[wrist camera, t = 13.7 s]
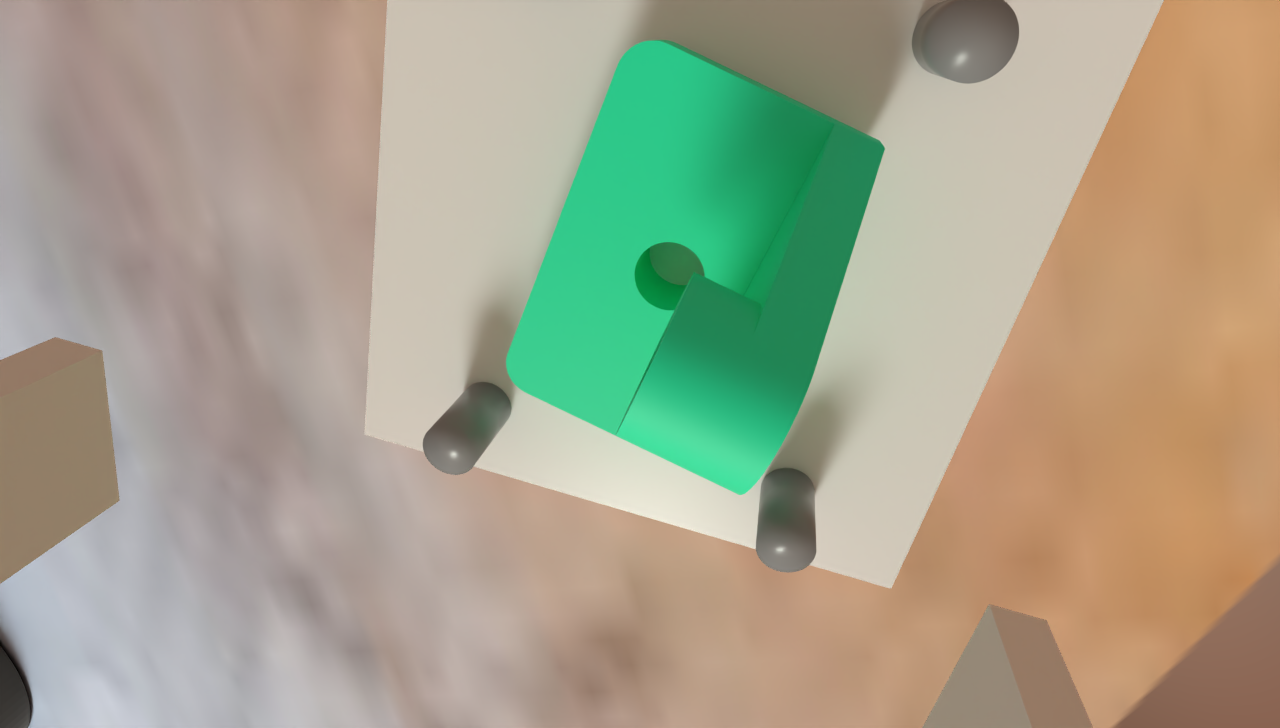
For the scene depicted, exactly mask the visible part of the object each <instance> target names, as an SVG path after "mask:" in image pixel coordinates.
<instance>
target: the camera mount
mask: <svg viewBox="0 0 1280 728" xmlns="http://www.w3.org/2000/svg"><path fill="white" fill-rule="evenodd" d="M884 150H885V147H884V146H883V144H882V143H881V141H880V140H878V139H876V138H873V137H871V136H869V135H867V134H865V133H863V132H861V131H859V130H857V129H855V128H853V127H851V126H848V125H846V124H844V123H842V122H840V121H838V120H836V119H834V118H832V117H830V116H828V115H826V114H823V113H821V112H819V111H817V110H815V109H813V108H811V107H809V106H807V105H805V104H803V103H801V102H798V101H796V100H794V99H792V98H790V97H788V96H786V95H784V94H782V93H780V92H778V91H776V90H773V89H771V88H769V87H767V86H765V85H763V84H761V83H759V82H757V81H755V80H753V79H751V78H748V77H746V76H744V75H742V74H740V73H738V72H736V71H734V70H732V69H730V68H728V67H726V66H723V65H721V64H719V63H717V62H715V61H713V60H711V59H709V58H707V57H705V56H703V55H701V54H698V53H696V52H694V51H692V50H690V49H688V48H686V47H684V46H682V45H680V44H678V43H675V42H673V41H669V40H650V41H644V42H641V43H638V44H636V45H634V46H633V47H631V48H630V49H629V50H628V51H626V53H625V54H624V55H623V56H622V58H621V59H620V61H619V63H618V65H617V68H616V70H615V73H614V76H613V78H612V81H611V83H610V86H609V89H608V91H607V94H606V97H605V99H604V102H603V104H602V107H601V110H600V112H599V115H598V117H597V120H596V123H595V125H594V128H593V131H592V133H591V136H590V138H589V141H588V144H587V146H586V149H585V152H584V154H583V157H582V159H581V162H580V165H579V167H578V170H577V173H576V175H575V178H574V180H573V183H572V186H571V188H570V191H569V194H568V196H567V199H566V201H565V204H564V207H563V209H562V212H561V215H560V217H559V220H558V222H557V225H556V228H555V230H554V233H553V236H552V238H551V241H550V243H549V246H548V249H547V251H546V254H545V257H544V259H543V262H542V264H541V267H540V270H539V272H538V275H537V278H536V280H535V283H534V285H533V288H532V291H531V293H530V296H529V299H528V301H527V304H526V306H525V309H524V312H523V314H522V317H521V320H520V322H519V325H518V327H517V330H516V333H515V335H514V338H513V341H512V343H511V346H510V348H509V351H508V354H507V357H506V368H507V372H508V375H509V377H510V379H511V380H512V382H513V383H514V384H515V385H516V386H517V387H518V388H519V389H520V390H522V391H523V392H525V393H527V394H529V395H531V396H534V397H536V398H538V399H540V400H542V401H544V402H546V403H548V404H550V405H552V406H554V407H557V408H559V409H561V410H563V411H565V412H567V413H569V414H571V415H573V416H575V417H577V418H579V419H582V420H584V421H586V422H588V423H590V424H592V425H594V426H596V427H598V428H600V429H602V430H605V431H607V432H609V433H611V434H613V435H615V436H617V437H619V438H621V439H623V440H625V441H628V442H630V443H632V444H634V445H636V446H638V447H640V448H642V449H644V450H646V451H648V452H650V453H653V454H655V455H657V456H659V457H661V458H663V459H665V460H667V461H669V462H671V463H673V464H676V465H678V466H680V467H682V468H684V469H686V470H688V471H690V472H692V473H694V474H696V475H699V476H701V477H703V478H705V479H707V480H709V481H711V482H713V483H715V484H717V485H719V486H722V487H724V488H726V489H728V490H730V491H732V492H734V493H736V494H738V495H743V494H745V493H746V492H748V491H749V490H750V489H751V488H752V487H753V486H754V485H755V484H756V483H757V481H758V480H759V479H760V478H761V476H762V475H763V474H764V472H765V471H766V469H767V468H768V467H769V465H770V463H771V462H772V460H773V459H774V457H775V455H776V454H777V452H778V450H779V449H780V447H781V445H782V443H783V442H784V440H785V438H786V436H787V434H788V432H789V430H790V428H791V426H792V424H793V422H794V420H795V418H796V416H797V414H798V412H799V410H800V407H801V405H802V403H803V400H804V398H805V396H806V393H807V391H808V388H809V385H810V383H811V380H812V377H813V374H814V371H815V368H816V365H817V362H818V359H819V355H820V352H821V349H822V346H823V343H824V340H825V337H826V333H827V330H828V327H829V324H830V321H831V318H832V314H833V311H834V308H835V305H836V302H837V299H838V296H839V292H840V289H841V286H842V283H843V280H844V277H845V273H846V270H847V267H848V264H849V261H850V258H851V254H852V251H853V248H854V245H855V242H856V239H857V236H858V232H859V229H860V226H861V223H862V220H863V217H864V213H865V210H866V207H867V204H868V201H869V198H870V195H871V191H872V188H873V185H874V182H875V179H876V176H877V172H878V169H879V166H880V163H881V160H882V157H883V154H884ZM663 242H673V243H678V244H681V245H683V246H685V247H687V248H689V249H690V250H691V251H693V252H694V253H695V254H696V256H697V257H698V258H699V260H700V261H701V264H702V266H703V269H704V275H705V276H704V277H703V276H701V275H699V274H697V273H695V272H694V273H693V274H692V276H691V278H690V280H689V282H688V284H687V285H677V284H673V283H670V282H668V281H666V280H664V279H663V278H662V277H660V276H659V275H658V274H657V272H656V271H655V270H654V268H653V266H652V263H651V260H650V247H651V246H653V245H656V244H658V243H663Z"/></svg>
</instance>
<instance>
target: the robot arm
mask: <svg viewBox="0 0 1280 728" xmlns="http://www.w3.org/2000/svg"><path fill="white" fill-rule="evenodd" d="M118 501H119V492H118V483H117V475H116V466H115V457H114V449H113V440H112V431H111V423H110V414H109V405H108V397H107V388H106V379H105V371H104V362H103V353H102V350H98V349H95V348H91V347H88V346H84V345H81V344H77V343H74V342H70V341H67V340H63V339H60V338H56V337H55V338H52V339H50V340H48V341H45V342H43V343H40V344H38V345H36V346H33V347H31V348H28V349H26V350H24V351H21V352H19V353H16V354H14V355H12V356H9V357H7V358H4V359H2V360H0V583H2V582H3V581H5V580H6V579H8V578H9V577H11V576H12V575H13V574H15V573H16V572H18V571H19V570H21V569H22V568H23V567H25V566H26V565H28V564H29V563H31V562H32V561H33V560H35V559H36V558H38V557H39V556H41V555H42V554H43V553H45V552H46V551H48V550H49V549H51V548H52V547H53V546H55V545H56V544H58V543H59V542H61V541H62V540H63V539H65V538H66V537H68V536H69V535H71V534H72V533H74V532H75V531H76V530H78V529H79V528H81V527H82V526H84V525H85V524H86V523H88V522H89V521H91V520H92V519H94V518H95V517H96V516H98V515H99V514H101V513H102V512H104V511H105V510H106V509H108V508H109V507H111V506H112V505H114V504H115V503H116V502H118ZM29 721H30V705H29V699H28V695H27V692H26V689H25V686H24V684H23V682H22V679H21V677H20V675H19V673H18V672H17V670H16V668H15V666H14V665H13V663H12V662H11V660H10V659H9V657H8V656H7V654H6V653H5V652H4V650H3V649H2V648H1V647H0V728H28V725H29ZM922 728H1093V726H1092V724H1091V722H1090V719H1089V717H1088V715H1087V713H1086V710H1085V708H1084V706H1083V703H1082V701H1081V699H1080V696H1079V694H1078V692H1077V689H1076V687H1075V685H1074V683H1073V680H1072V678H1071V676H1070V673H1069V671H1068V669H1067V666H1066V664H1065V662H1064V660H1063V657H1062V655H1061V653H1060V650H1059V648H1058V646H1057V643H1056V641H1055V639H1054V636H1053V634H1052V632H1051V630H1050V627H1049V625H1048V623H1047V620H1043V619H1040V618H1036V617H1033V616H1029V615H1026V614H1022V613H1019V612H1015V611H1012V610H1008V609H1005V608H1001V607H998V606H994V605H991V604H989V605H988V607H987V609H986V611H985V613H984V615H983V616H982V618H981V620H980V622H979V624H978V626H977V628H976V629H975V631H974V633H973V635H972V637H971V639H970V641H969V642H968V644H967V646H966V648H965V650H964V652H963V653H962V655H961V657H960V659H959V661H958V663H957V665H956V666H955V668H954V670H953V672H952V674H951V676H950V677H949V679H948V681H947V683H946V685H945V687H944V689H943V690H942V692H941V694H940V696H939V698H938V700H937V702H936V703H935V705H934V707H933V709H932V711H931V713H930V714H929V716H928V718H927V720H926V722H925V724H924V726H923V727H922Z"/></svg>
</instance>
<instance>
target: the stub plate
mask: <svg viewBox="0 0 1280 728" xmlns="http://www.w3.org/2000/svg"><path fill="white" fill-rule="evenodd" d="M1163 1H1164V0H387V18H386V37H385V56H384V75H383V94H382V113H381V132H380V151H379V170H378V189H377V208H376V227H375V246H374V265H373V284H372V303H371V322H370V341H369V360H368V379H367V398H366V417H365V435H368V436H371V437H375V438H378V439H381V440H385V441H388V442H392V443H395V444H398V445H402V446H405V447H409V448H412V449H416V450H419V451H422V452H424V453H425V456H426V457H427V459H428V460H429V462H430V463H431V464H432V465H433V466H434V467H435V468H437V469H438V470H440V471H442V472H444V473H447V474H453V475H458V474H463V473H466V472H468V471H469V470H470V469H472V467H473V466H474V467H477V468H480V469H484V470H487V471H491V472H494V473H497V474H501V475H504V476H508V477H511V478H515V479H518V480H521V481H525V482H528V483H532V484H535V485H538V486H542V487H545V488H549V489H552V490H556V491H559V492H562V493H566V494H569V495H573V496H576V497H579V498H583V499H586V500H590V501H593V502H596V503H600V504H603V505H607V506H610V507H614V508H617V509H620V510H624V511H627V512H631V513H634V514H637V515H641V516H644V517H648V518H651V519H655V520H658V521H661V522H665V523H668V524H672V525H675V526H678V527H682V528H685V529H689V530H692V531H695V532H699V533H702V534H706V535H709V536H713V537H716V538H719V539H723V540H726V541H730V542H733V543H736V544H740V545H743V546H747V547H750V548H754V549H756V552H757V554H758V556H759V558H760V560H761V561H762V562H763V563H764V564H765V565H767V566H768V567H770V568H772V569H774V570H777V571H780V572H796V571H799V570H802V569H804V568H806V567H807V566H809V565H812V566H815V567H818V568H822V569H825V570H829V571H832V572H835V573H839V574H842V575H846V576H849V577H853V578H856V579H859V580H863V581H866V582H870V583H873V584H876V585H880V586H883V587H887V588H890V589H891V588H892V586H893V583H894V581H895V579H896V577H897V575H898V573H899V571H900V568H901V566H902V564H903V562H904V560H905V558H906V555H907V553H908V551H909V549H910V547H911V545H912V542H913V540H914V538H915V536H916V534H917V532H918V530H919V527H920V525H921V523H922V521H923V519H924V517H925V514H926V512H927V510H928V508H929V506H930V504H931V501H932V499H933V497H934V495H935V493H936V491H937V489H938V486H939V484H940V482H941V480H942V478H943V476H944V473H945V471H946V469H947V467H948V465H949V463H950V460H951V458H952V456H953V454H954V452H955V450H956V448H957V445H958V443H959V441H960V439H961V437H962V435H963V432H964V430H965V428H966V426H967V424H968V422H969V419H970V417H971V415H972V413H973V411H974V409H975V407H976V404H977V402H978V400H979V398H980V396H981V394H982V391H983V389H984V387H985V385H986V383H987V381H988V378H989V376H990V374H991V372H992V370H993V368H994V366H995V363H996V361H997V359H998V357H999V355H1000V353H1001V350H1002V348H1003V346H1004V344H1005V342H1006V340H1007V338H1008V335H1009V333H1010V331H1011V329H1012V327H1013V325H1014V322H1015V320H1016V318H1017V316H1018V314H1019V312H1020V309H1021V307H1022V305H1023V303H1024V301H1025V299H1026V297H1027V294H1028V292H1029V290H1030V288H1031V286H1032V284H1033V281H1034V279H1035V277H1036V275H1037V273H1038V271H1039V268H1040V266H1041V264H1042V262H1043V260H1044V258H1045V256H1046V253H1047V251H1048V249H1049V247H1050V245H1051V243H1052V240H1053V238H1054V236H1055V234H1056V232H1057V230H1058V227H1059V225H1060V223H1061V221H1062V219H1063V217H1064V215H1065V212H1066V210H1067V208H1068V206H1069V204H1070V202H1071V199H1072V197H1073V195H1074V193H1075V191H1076V189H1077V186H1078V184H1079V182H1080V180H1081V178H1082V176H1083V174H1084V171H1085V169H1086V167H1087V165H1088V163H1089V161H1090V158H1091V156H1092V154H1093V152H1094V150H1095V148H1096V145H1097V143H1098V141H1099V139H1100V137H1101V135H1102V133H1103V130H1104V128H1105V126H1106V124H1107V122H1108V120H1109V117H1110V115H1111V113H1112V111H1113V109H1114V107H1115V104H1116V102H1117V100H1118V98H1119V96H1120V94H1121V92H1122V89H1123V87H1124V85H1125V83H1126V81H1127V79H1128V76H1129V74H1130V72H1131V70H1132V68H1133V66H1134V63H1135V61H1136V59H1137V57H1138V55H1139V53H1140V51H1141V48H1142V46H1143V44H1144V42H1145V40H1146V38H1147V35H1148V33H1149V31H1150V29H1151V27H1152V25H1153V23H1154V20H1155V18H1156V16H1157V14H1158V12H1159V10H1160V7H1161V5H1162V3H1163ZM650 40H669V41H673V42H675V43H678V44H680V45H682V46H684V47H686V48H688V49H690V50H692V51H694V52H696V53H698V54H701V55H703V56H705V57H707V58H709V59H711V60H713V61H715V62H717V63H719V64H721V65H723V66H726V67H728V68H730V69H732V70H734V71H736V72H738V73H740V74H742V75H744V76H746V77H748V78H751V79H753V80H755V81H757V82H759V83H761V84H763V85H765V86H767V87H769V88H771V89H773V90H776V91H778V92H780V93H782V94H784V95H786V96H788V97H790V98H792V99H794V100H796V101H798V102H801V103H803V104H805V105H807V106H809V107H811V108H813V109H815V110H817V111H819V112H821V113H823V114H826V115H828V116H830V117H832V118H834V119H836V120H838V121H840V122H842V123H844V124H846V125H848V126H851V127H853V128H855V129H857V130H859V131H861V132H863V133H865V134H867V135H869V136H871V137H873V138H876V139H878V140H880V141H881V143H882V144H883V146H884V147H885V150H884V154H883V157H882V160H881V163H880V166H879V169H878V172H877V176H876V179H875V182H874V185H873V188H872V191H871V195H870V198H869V201H868V204H867V207H866V210H865V213H864V217H863V220H862V223H861V226H860V229H859V232H858V236H857V239H856V242H855V245H854V248H853V251H852V254H851V258H850V261H849V264H848V267H847V270H846V273H845V277H844V280H843V283H842V286H841V289H840V292H839V296H838V299H837V302H836V305H835V308H834V311H833V314H832V318H831V321H830V324H829V327H828V330H827V333H826V337H825V340H824V343H823V346H822V349H821V352H820V355H819V359H818V362H817V365H816V368H815V371H814V374H813V377H812V380H811V383H810V385H809V388H808V391H807V393H806V396H805V398H804V400H803V403H802V405H801V407H800V410H799V412H798V414H797V416H796V418H795V420H794V422H793V424H792V426H791V428H790V430H789V432H788V434H787V436H786V438H785V440H784V442H783V443H782V445H781V447H780V449H779V450H778V452H777V454H776V455H775V457H774V459H773V460H772V462H771V463H770V465H769V467H768V468H767V469H766V471H765V472H764V474H763V475H762V476H761V478H760V479H759V480H758V481H757V483H756V484H755V485H754V486H753V487H752V488H751V489H750V490H749V491H748V492H746V493H745V494H743V495H738V494H736V493H734V492H732V491H730V490H728V489H726V488H724V487H722V486H719V485H717V484H715V483H713V482H711V481H709V480H707V479H705V478H703V477H701V476H699V475H696V474H694V473H692V472H690V471H688V470H686V469H684V468H682V467H680V466H678V465H676V464H673V463H671V462H669V461H667V460H665V459H663V458H661V457H659V456H657V455H655V454H653V453H650V452H648V451H646V450H644V449H642V448H640V447H638V446H636V445H634V444H632V443H630V442H628V441H625V440H623V439H621V438H619V437H617V436H615V435H613V434H611V433H609V432H607V431H605V430H602V429H600V428H598V427H596V426H594V425H592V424H590V423H588V422H586V421H584V420H582V419H579V418H577V417H575V416H573V415H571V414H569V413H567V412H565V411H563V410H561V409H559V408H557V407H554V406H552V405H550V404H548V403H546V402H544V401H542V400H540V399H538V398H536V397H534V396H531V395H529V394H527V393H525V392H523V391H522V390H520V389H519V388H518V387H517V386H516V385H515V384H514V383H513V382H512V380H511V379H510V377H509V375H508V372H507V368H506V357H507V354H508V351H509V348H510V346H511V343H512V341H513V338H514V335H515V333H516V330H517V327H518V325H519V322H520V320H521V317H522V314H523V312H524V309H525V306H526V304H527V301H528V299H529V296H530V293H531V291H532V288H533V285H534V283H535V280H536V278H537V275H538V272H539V270H540V267H541V264H542V262H543V259H544V257H545V254H546V251H547V249H548V246H549V243H550V241H551V238H552V236H553V233H554V230H555V228H556V225H557V222H558V220H559V217H560V215H561V212H562V209H563V207H564V204H565V201H566V199H567V196H568V194H569V191H570V188H571V186H572V183H573V180H574V178H575V175H576V173H577V170H578V167H579V165H580V162H581V159H582V157H583V154H584V152H585V149H586V146H587V144H588V141H589V138H590V136H591V133H592V131H593V128H594V125H595V123H596V120H597V117H598V115H599V112H600V110H601V107H602V104H603V102H604V99H605V97H606V94H607V91H608V89H609V86H610V83H611V81H612V78H613V76H614V73H615V70H616V68H617V65H618V63H619V61H620V59H621V58H622V56H623V55H624V54H625V53H626V51H628V50H629V49H630V48H631V47H633V46H634V45H636V44H638V43H641V42H644V41H650ZM650 260H651V263H652V266H653V268H654V270H655V271H656V272H657V274H658V275H659V276H660V277H662V278H663V279H664V280H666V281H668V282H670V283H673V284H677V285H687V284H688V282H689V280H690V278H691V276H692V274H693V273H694V272H695V273H697V274H699V275H701V276H703V277H704V276H705V275H704V269H703V266H702V264H701V261H700V260H699V258H698V257H697V256H696V254H695V253H694V252H693V251H691V250H690V249H689V248H687V247H685V246H683V245H681V244H678V243H673V242H663V243H658V244H656V245H653V246H651V247H650Z"/></svg>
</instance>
